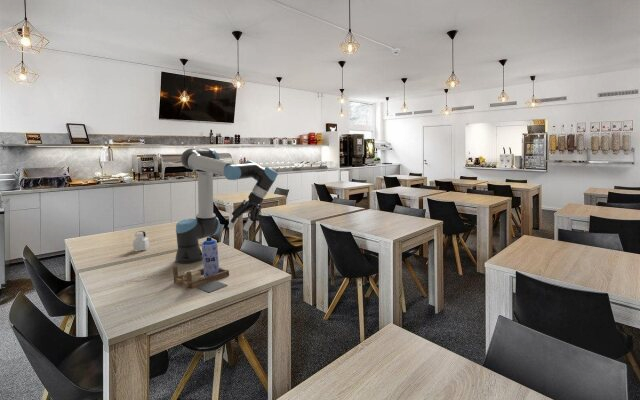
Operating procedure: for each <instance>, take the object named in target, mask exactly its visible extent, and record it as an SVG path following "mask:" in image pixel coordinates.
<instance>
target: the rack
mask: <svg viewBox="0 0 640 400" xmlns="http://www.w3.org/2000/svg"><path fill="white" fill-rule="evenodd" d="M195 270H196V269H195ZM178 271H179V270H178V266H176V265H174V266H172V273H173V274H172V275H173V276H172V277H173V283H174V284H177V285H179V286H182V287H184V288H186V289H188V290H191V289H195V288H197V287H198V286H201V285H203V284H206V283H209V282H212V281H214V280H216V281H218V280H221V279H222V278H225V277H228V276H230V270H229V269H226V268H222V267H221V266H219V273H218V274H215V275H212V276H209V277H206V278H205V277H202V279H200V280H197V281H194V282H192V276H191V272H190V270H187V271H188V272H187V271H185V272H186V273H187V282H186V281H184V280H183V277H184V274H182V275H181V274H180V275H179V274H178ZM196 271H201V275H204V268H203V267H202V268H201V269H200V268H199V269H197V270H196Z"/></svg>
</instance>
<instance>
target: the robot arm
mask: <svg viewBox="0 0 640 400" xmlns="http://www.w3.org/2000/svg"><path fill="white" fill-rule="evenodd" d="M180 162H181V164H182V166H183V167H184V168H186V169H189V170H192V171H194V172H195V173H196V174H197V201H198V202H197V204H198V209H197V210H198V213H196V215H195V218H186V219H182V220H180V221H178V222H177V223H176V224H175V233H176V234H175V235H176V244H177V250H176V252H175V253H176V254H175V259H174V260H175V262H176V263H177V264H192V263H195V262H196V263H197V262H199V261H201V260H203V255H202V248H201V246H200V244H199V242H200V241H199V240H202V239H205V238H206V239H207V238H208V237H212V236H215V235H216V234H218V232H219V231H220V229H221V223H220V220H219V218H218V217H217V216H216V215H217V214H216V213H214V174H215V175H217V176H222V177H225V178H226V179H227V180H228V181H236V180H243V179H244V180H245V179H250V178H252V179H254V180H255V181H256V183H255V185H253V187H252V189H251V192H250V193H249V195H248V197H247V198H248V200H246V199H244V200H242V202H241V203H240V204H239V206H238V207H236V209H234V210H233V211H232V212H231V215H232V218H231V220H230V221H229V223H228V225H227V227H228V228H229V229H230V230H233V228H234V227H235V225H236V223H237V221H239V217H241V216H242V215H243V214H244V213H246V212H248V211H250V216H249V217H250V218H248V219H247V221H246V222H245V224H244V226H243V227H242V230H243V231H245V232H248V231H249V229H250V227H251V225H252V224H253V222H254V223H255V222H256V221H257V220H258V217H259V214H260V209H261V208H262V203H263V201H264V198H266V196H267V194H268V192H269V190H270V189H271V187H272V186H273V184H274V183H275V181H276V179H277V177H278V175H279V174H278V172H277V171H276V170H275V169H273V168H271V167H269V166H265V168H264V167H263V166H261V165H260V164H258V163H257V162H255V161H252V159H247V160H246V161H244V162H243V163H239V164H238V163H234V162H233V163H232V162H228V161H224V160H220V156H219V154H218V152H217V150H215V149H213V148H210V147H204V148H203V147H202V148H201V147H200V148H199V147H198V148H188V149H186V150H185V151H183V152H182V153H181V156H180Z"/></svg>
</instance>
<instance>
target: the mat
mask: <svg viewBox="0 0 640 400" xmlns="http://www.w3.org/2000/svg"><path fill="white" fill-rule="evenodd" d="M225 287H228V284H227V283H224V282H221V281H218V280H214V281H211V282H209V283H206V284H203V285H200V286H198V287H196V289H199V290H202V291H204V292H206V293H208V294H210V293H212V292H215V291H218V290H220V289H223V288H225Z"/></svg>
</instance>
